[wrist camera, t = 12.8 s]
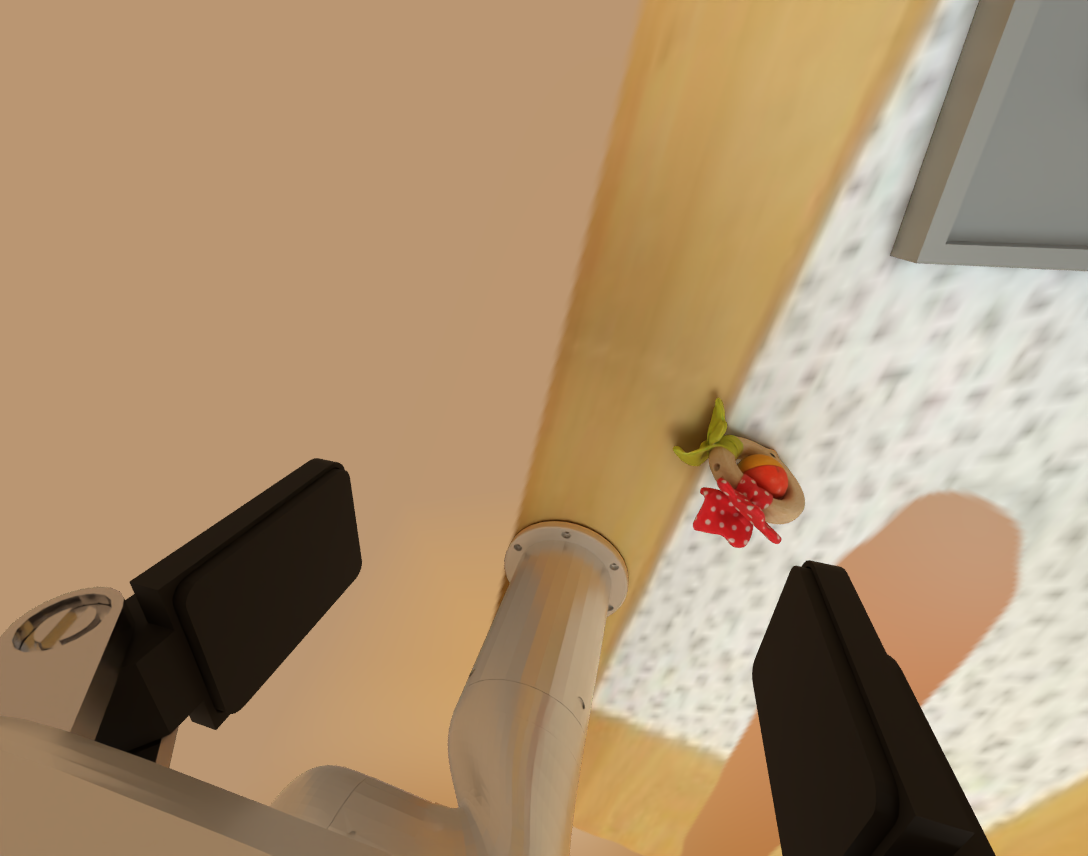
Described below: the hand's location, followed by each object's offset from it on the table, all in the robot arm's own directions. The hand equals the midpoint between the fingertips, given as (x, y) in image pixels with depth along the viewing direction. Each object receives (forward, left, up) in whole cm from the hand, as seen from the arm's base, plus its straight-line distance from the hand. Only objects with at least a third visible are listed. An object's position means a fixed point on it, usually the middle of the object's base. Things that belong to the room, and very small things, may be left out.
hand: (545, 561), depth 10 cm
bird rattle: (-10, -9, -27) cm, 30 cm away
